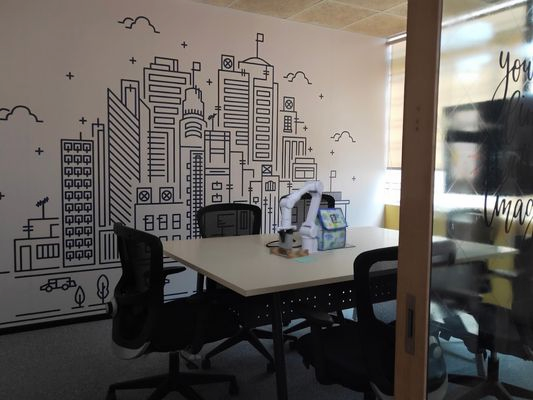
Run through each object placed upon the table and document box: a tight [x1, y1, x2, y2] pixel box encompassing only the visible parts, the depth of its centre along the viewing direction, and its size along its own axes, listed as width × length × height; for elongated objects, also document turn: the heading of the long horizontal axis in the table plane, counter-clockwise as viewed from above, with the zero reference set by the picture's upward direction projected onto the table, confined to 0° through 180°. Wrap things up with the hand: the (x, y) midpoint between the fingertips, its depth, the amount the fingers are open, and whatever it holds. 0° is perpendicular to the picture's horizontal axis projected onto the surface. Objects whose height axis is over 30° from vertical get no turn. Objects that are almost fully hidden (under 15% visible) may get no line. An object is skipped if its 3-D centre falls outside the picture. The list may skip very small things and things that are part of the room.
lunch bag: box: [315, 207, 348, 252], centre depth 285 cm, size 22×17×26 cm
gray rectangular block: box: [278, 233, 294, 250], centre depth 257 cm, size 4×8×8 cm, turn 39°
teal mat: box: [291, 256, 319, 263], centre depth 248 cm, size 12×9×1 cm
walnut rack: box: [269, 246, 310, 260], centre depth 259 cm, size 16×16×4 cm
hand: (285, 242), depth 257 cm, fingers closed on gray rectangular block, 3 cm apart
